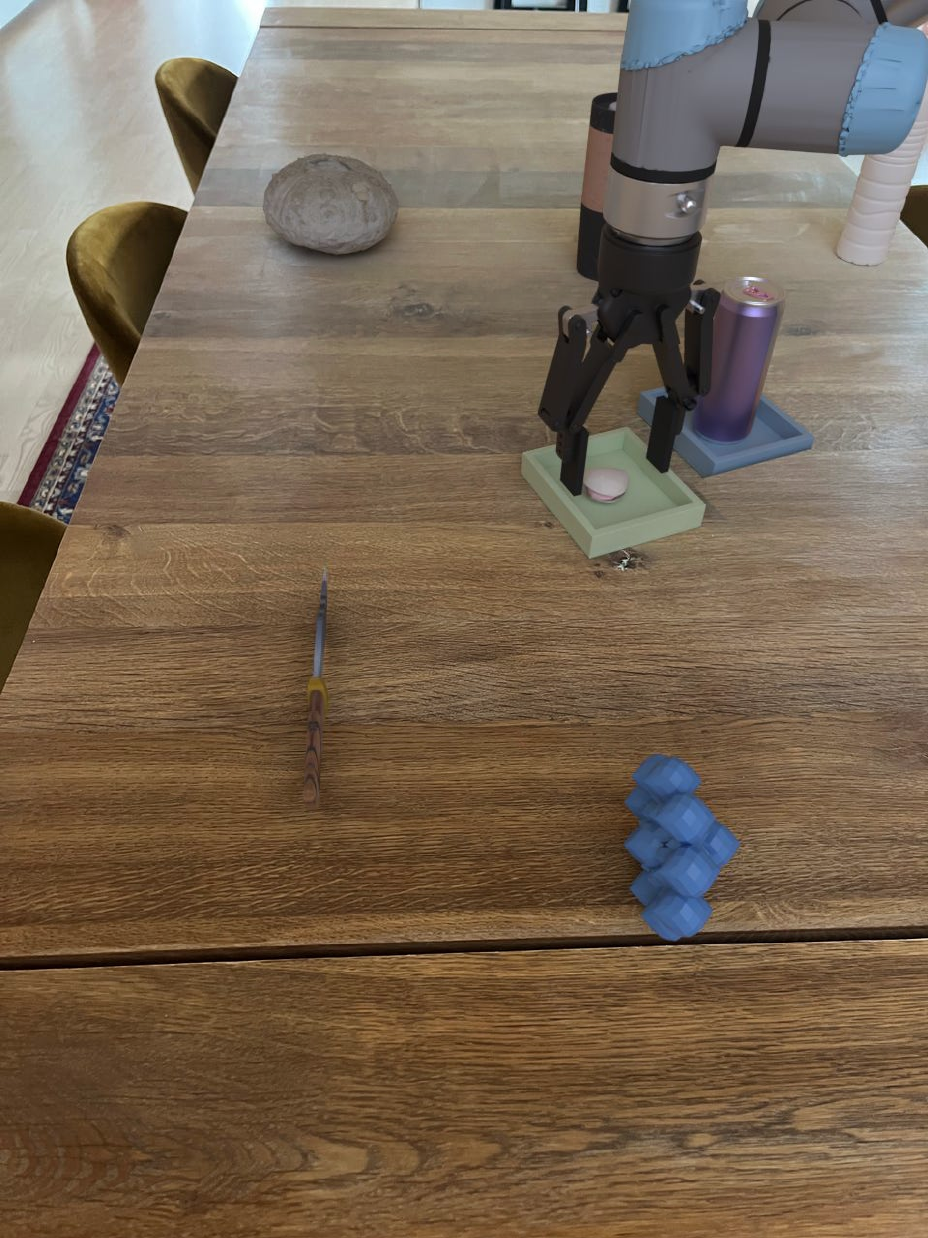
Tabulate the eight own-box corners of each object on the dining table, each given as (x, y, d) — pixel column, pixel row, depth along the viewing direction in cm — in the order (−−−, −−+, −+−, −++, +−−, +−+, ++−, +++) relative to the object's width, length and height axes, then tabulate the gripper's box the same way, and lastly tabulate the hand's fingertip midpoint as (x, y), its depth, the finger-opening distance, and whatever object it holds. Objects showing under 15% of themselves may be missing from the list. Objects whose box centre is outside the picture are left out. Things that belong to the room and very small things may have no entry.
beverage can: (721, 453, 93) (757, 311, 82) (678, 426, 96) (707, 285, 86) (762, 434, 95) (802, 293, 85) (718, 408, 99) (752, 269, 88)
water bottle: (837, 242, 130) (898, 35, 112) (886, 250, 128) (956, 41, 111) (832, 268, 124) (896, 54, 106) (884, 276, 123) (957, 60, 105)
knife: (319, 586, 79) (313, 541, 75) (336, 586, 79) (331, 540, 76) (304, 843, 62) (296, 799, 58) (326, 841, 62) (318, 798, 58)
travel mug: (563, 263, 124) (578, 96, 110) (611, 252, 127) (632, 88, 113) (594, 287, 119) (615, 115, 105) (644, 275, 122) (670, 106, 108)
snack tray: (700, 526, 85) (706, 504, 84) (589, 559, 82) (592, 537, 80) (624, 447, 94) (627, 425, 92) (520, 473, 91) (522, 451, 89)
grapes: (741, 986, 55) (795, 881, 47) (626, 987, 55) (660, 883, 47) (701, 816, 63) (740, 701, 55) (601, 817, 63) (626, 702, 55)
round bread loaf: (422, 230, 131) (420, 154, 124) (359, 281, 119) (354, 201, 112) (311, 207, 136) (304, 133, 129) (241, 254, 125) (229, 175, 117)
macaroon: (571, 492, 88) (574, 470, 86) (608, 472, 90) (612, 450, 89) (604, 514, 86) (608, 492, 84) (642, 493, 88) (646, 471, 86)
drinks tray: (808, 457, 93) (815, 436, 92) (710, 484, 90) (715, 463, 88) (728, 390, 102) (733, 369, 100) (636, 412, 99) (639, 391, 97)
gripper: (549, 268, 65) (529, 527, 80) (799, 223, 71) (734, 471, 87) (502, 228, 69) (491, 479, 85) (740, 189, 76) (689, 430, 92)
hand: (614, 475), depth 86 cm, fingers open, 8 cm apart
